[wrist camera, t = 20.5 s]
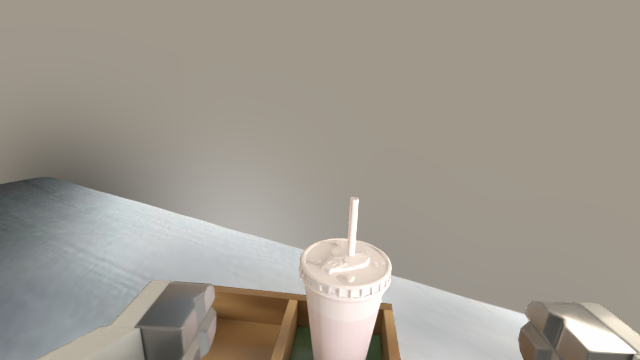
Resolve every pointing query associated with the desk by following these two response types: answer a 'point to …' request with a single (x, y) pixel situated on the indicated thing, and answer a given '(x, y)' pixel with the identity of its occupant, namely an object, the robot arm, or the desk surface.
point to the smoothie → (343, 292)
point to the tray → (280, 327)
